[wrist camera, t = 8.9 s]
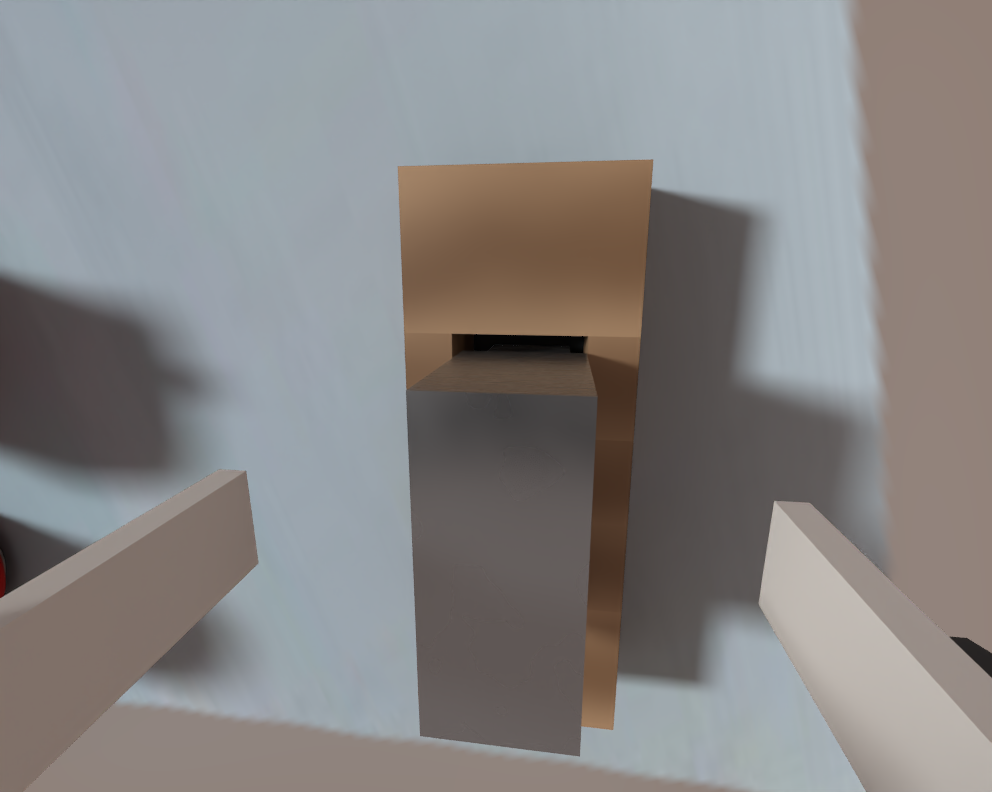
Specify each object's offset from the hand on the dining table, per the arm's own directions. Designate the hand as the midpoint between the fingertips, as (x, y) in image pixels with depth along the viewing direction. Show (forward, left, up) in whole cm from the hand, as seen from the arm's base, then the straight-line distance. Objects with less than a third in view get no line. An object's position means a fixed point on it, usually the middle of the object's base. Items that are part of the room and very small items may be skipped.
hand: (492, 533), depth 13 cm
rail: (0, 0, -9) cm, 9 cm away
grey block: (+1, 0, -9) cm, 9 cm away
